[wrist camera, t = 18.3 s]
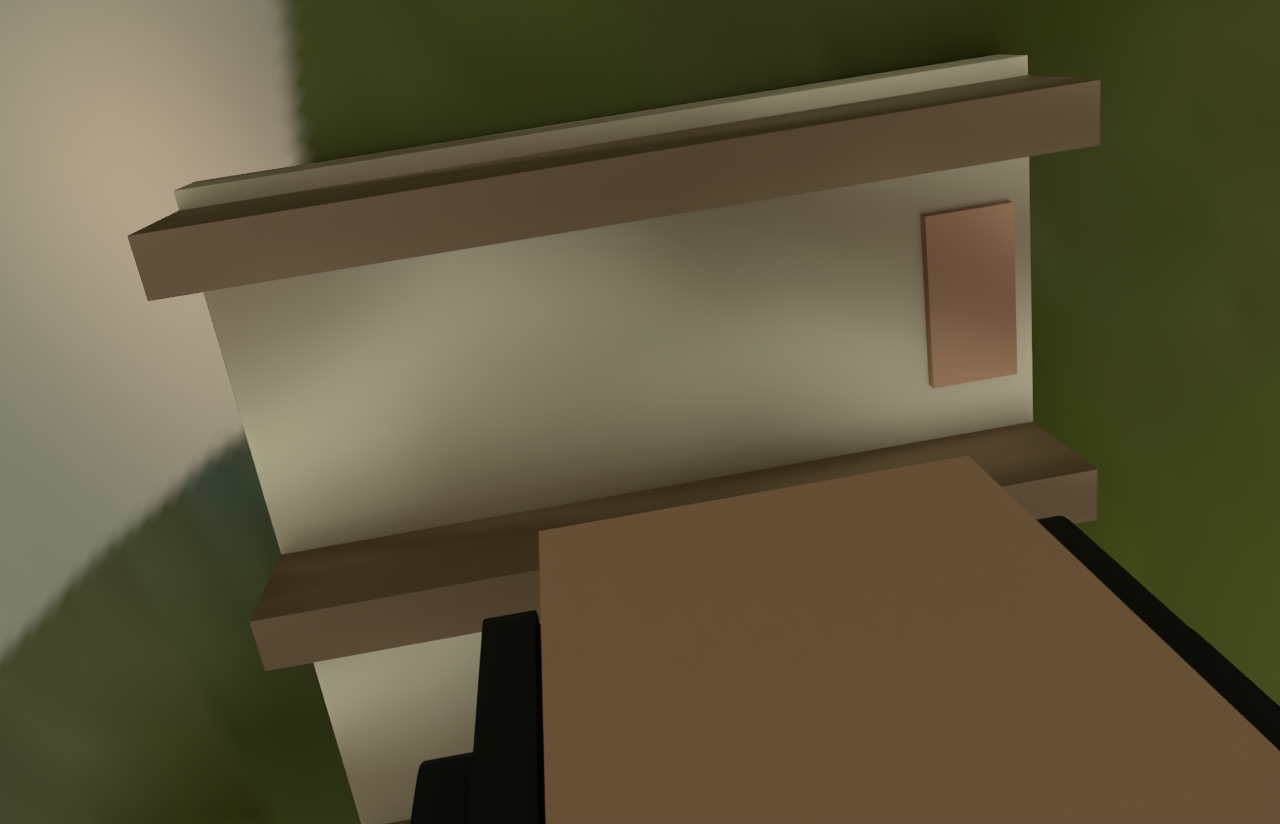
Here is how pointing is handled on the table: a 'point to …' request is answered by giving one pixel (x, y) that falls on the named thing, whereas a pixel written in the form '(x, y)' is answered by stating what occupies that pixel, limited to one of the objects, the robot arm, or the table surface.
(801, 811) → the terracotta plug block
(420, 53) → the table surface
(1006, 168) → the cream shelf rack
